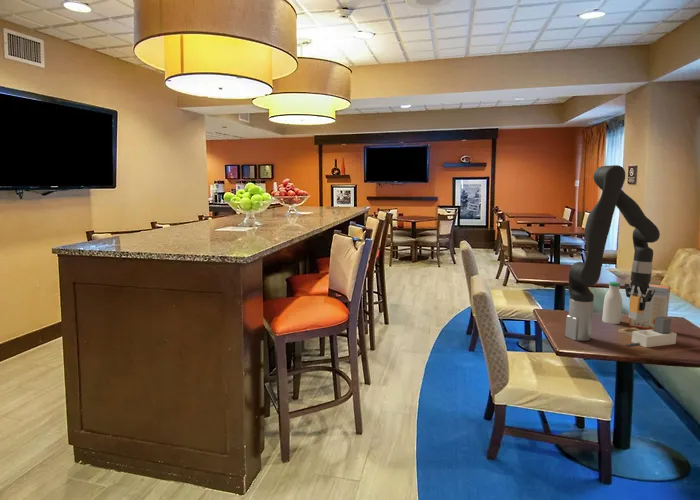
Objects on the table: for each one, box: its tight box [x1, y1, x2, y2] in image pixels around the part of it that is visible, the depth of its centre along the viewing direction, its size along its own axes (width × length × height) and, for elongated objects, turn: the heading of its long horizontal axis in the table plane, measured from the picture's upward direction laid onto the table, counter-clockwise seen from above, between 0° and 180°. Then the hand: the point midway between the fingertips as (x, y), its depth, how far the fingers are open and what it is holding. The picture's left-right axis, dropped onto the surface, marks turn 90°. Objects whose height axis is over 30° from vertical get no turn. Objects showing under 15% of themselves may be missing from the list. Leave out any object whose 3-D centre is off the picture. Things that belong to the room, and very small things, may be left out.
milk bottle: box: [601, 281, 623, 325], centre depth 227 cm, size 8×8×20 cm
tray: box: [618, 327, 643, 338], centre depth 210 cm, size 9×9×2 cm
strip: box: [625, 316, 677, 348], centre depth 197 cm, size 22×7×11 cm, turn 106°
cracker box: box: [628, 283, 671, 330], centre depth 218 cm, size 14×6×21 cm, turn 47°
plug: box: [628, 295, 644, 320], centre depth 208 cm, size 4×4×10 cm
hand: (636, 308), depth 208 cm, fingers closed on plug, 4 cm apart
